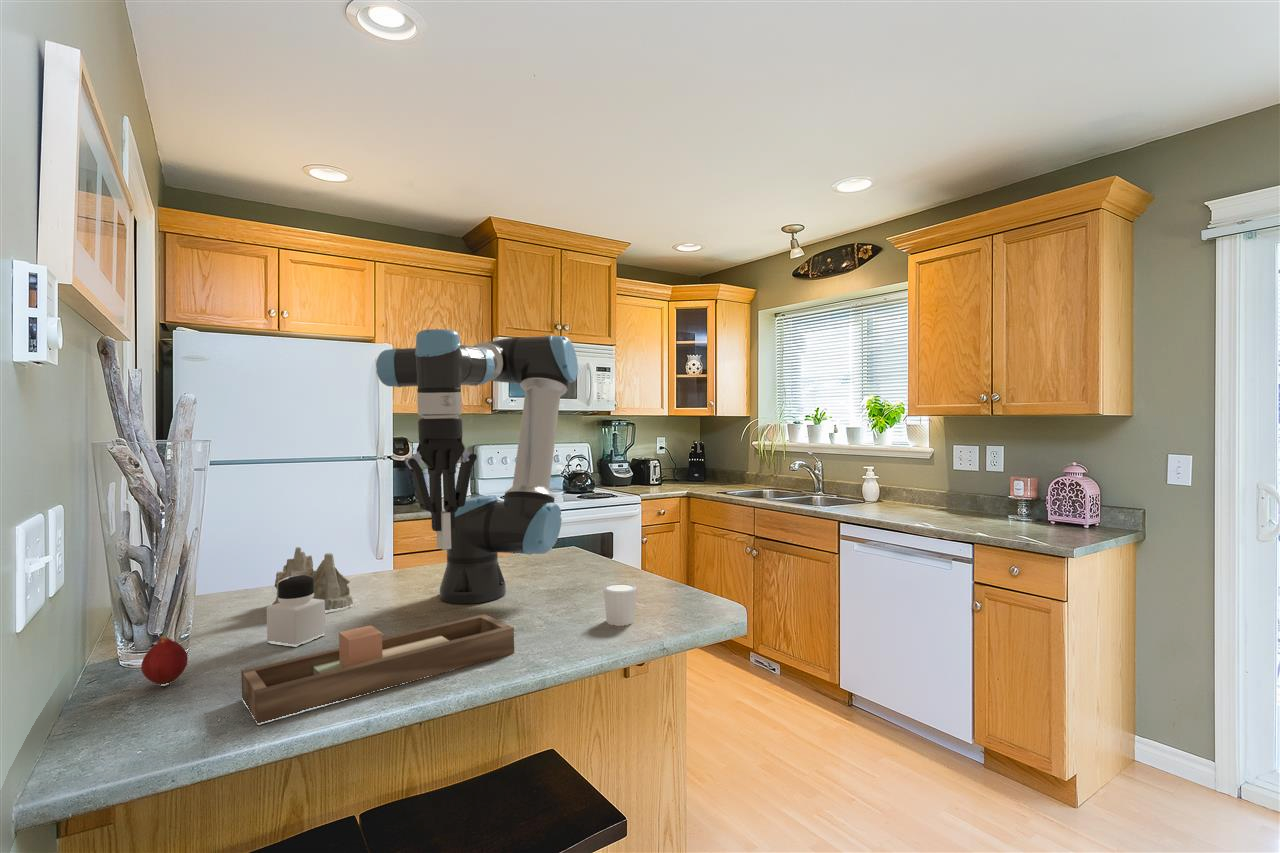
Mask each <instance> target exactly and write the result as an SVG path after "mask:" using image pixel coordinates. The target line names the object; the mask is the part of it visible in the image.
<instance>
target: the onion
mask: <svg viewBox="0 0 1280 853" xmlns="http://www.w3.org/2000/svg"><path fill="white" fill-rule="evenodd" d="M157 640H158V643H156V644H154V645H153V646H152V647H151V648H149V650H147V653H146V654H145V655H144V657H143V659H142V661H141V671H142V675H143V677H145V679H147V680H148V681H150V682H152V683H154V684H157V685H158V684H160V685H161V684H166V683H170V682H172V681H173V682H174V681H176V680H177V679H178V678H179V677H180V676H181V675H182V674H183V672H184V671H185V669H186V668H187V665H188V660H189V659H188V654H187V651H186V650H185V648H184V647H183V646H182V645H181V644H180V643H178V642H177V641H174V640H172V639H170V638H169V637H167V636H160V637H159V638H157ZM173 682H172V683H173ZM160 685H159V686H160Z"/></svg>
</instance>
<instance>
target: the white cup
mask: <svg viewBox="0 0 1280 853" xmlns="http://www.w3.org/2000/svg"><path fill="white" fill-rule="evenodd" d="M637 588H638V587H637V586H636V585H634V584H629V583H628V584H627V583H615V584H608V585H606V586H604V587H603V589H602V590H603V598H604V607H605V617H606V623H607V624H608V625H609V626H613V625H615V627H621V626H622V627H624V625H626V626H630V625H632V624H634V623H635V614H636V612H635V611H636V602H637V601H636V600H637ZM633 622H634V623H633ZM629 624H630V625H629Z"/></svg>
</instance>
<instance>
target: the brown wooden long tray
mask: <svg viewBox="0 0 1280 853" xmlns="http://www.w3.org/2000/svg"><path fill="white" fill-rule="evenodd" d="M511 654H515V627H513V626H511V625H509V624H507V623H504V622H502V621H500V620H498V619H496V618H494V617H492V616H489V615H487V614H486V613H483V614H479V615H474V616H470V617H466V618H461V619H457V620H453V621H449V622H443V623H440V624H439V623H438V624H435V625H432V626H427V627H426V626H425V627H422V628H418V629H415V630H414V629H413V630H409V631H405V632H401V633H397V634H393V635H389V636H382V658H380V659H376V660H372V661H368V662H364V663H360V664H356V665H352V666H348V667H345V668H344V667H343V666H342V665H341V664H340V663H339V647H337V648H332V649H327V650H325V651H318V652H314V653H311V654H307V655H306V654H305V655H302V656H298V657H294V658H288V659H285V660H281V661H276V662H272V663H269V664H264V665H259V666H254V667H250V668H246V669H242V670H241V673H240V674H241V678H240V679H241V699H242V698H243V700H244V701H245V703H246V705H247V706H248V708H249V710H250V712H251V713H252V715H253V716H254V718H255V720H256V721H257V723H261V722H265V721H268V720H272V719H276V718H279V717H282V716H286V715H289V714H293V713H297V712H300V711H302V710H306V709H309V708H313V707H317V706H321V705H325V704H329V703H333V702H336V701H341V700H344V699H349V698H352V697H356V696H359V695H364V694H367V693H371V692H373V691H377V690H380V689H384V688H387V687H391V686H395V685H400V684H402V683H406V682H410V681H413V680H417V679H420V678H424V677H427V676H431V675H435V674H438V675H440V674H439V673H442V674H444V673H443V672H445V673H447V672H446V671H449V672H451V671H450V670H452V671H454V670H453V669H456V670H459V669H462V668H461V667H463V668H465V667H464V666H466V667H469V666H468V665H470V666H473V665H477V664H480V663H483V661H484V662H486V661H490V659H491V660H493V659H497V657H498V658H501V657H504V656H508V655H511ZM476 663H477V664H476ZM472 664H473V665H472ZM458 668H459V669H458ZM435 676H436V675H435ZM431 677H432V676H431ZM424 679H425V678H424ZM400 686H401V685H400Z"/></svg>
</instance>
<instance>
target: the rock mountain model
mask: <svg viewBox="0 0 1280 853" xmlns="http://www.w3.org/2000/svg"><path fill="white" fill-rule="evenodd" d="M313 562H314V561H313V556H312V555H306V553H305V551H302V547H300V546H297V547H295V550H294V555H293V558H287V559H286V564H284V565H283V567H282V568H283V569H282V571H276V574H275V577H276V578H275V582H274V588H275V589H276V597H275V601H273V603H272V604H271V605H274V604H277V603H280V602H278V582H279V581H280V580H282V579H284V578H286V577H290V576H298V575H306V576H310V577H312V578H313V580H314V597H313V598H312V599H322V600H324V601H325V610H330V609H337V608H343V607H346V606H350V605H351V604H353V603H354V600H353V596H352V595H351V594H350V592H351V591H350V586H348V584H350V582H351V581H350V580H349V579H347V578H346V577H345V576H344V575H343V574H341V572H339V570H338V569H337V568H336V566H335V560H334V553H330V552H329V553H324V559H322V561H321V563H319V565H318V567H317V569H316V570H314V563H313Z"/></svg>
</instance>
